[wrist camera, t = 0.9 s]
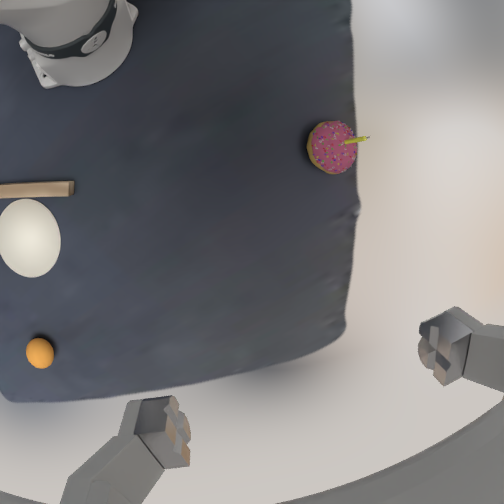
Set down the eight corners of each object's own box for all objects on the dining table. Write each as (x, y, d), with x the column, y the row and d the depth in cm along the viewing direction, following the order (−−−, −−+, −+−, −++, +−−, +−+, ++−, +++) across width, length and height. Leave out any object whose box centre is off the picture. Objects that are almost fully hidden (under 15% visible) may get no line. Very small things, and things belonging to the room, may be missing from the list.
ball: (27, 343, 44) (17, 359, 39) (39, 326, 44) (30, 342, 39) (48, 362, 46) (41, 379, 41) (62, 346, 46) (54, 363, 41)
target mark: (-14, 238, 37) (-15, 238, 37) (25, 181, 37) (24, 181, 37) (33, 291, 42) (32, 292, 42) (75, 239, 42) (75, 239, 42)
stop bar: (74, 193, 40) (68, 196, 38) (-16, 197, 35) (-25, 199, 33) (74, 180, 40) (68, 182, 37) (-16, 185, 35) (-25, 187, 32)
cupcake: (319, 113, 47) (360, 103, 36) (349, 148, 51) (393, 149, 40) (287, 147, 48) (323, 144, 37) (320, 182, 51) (360, 190, 40)
